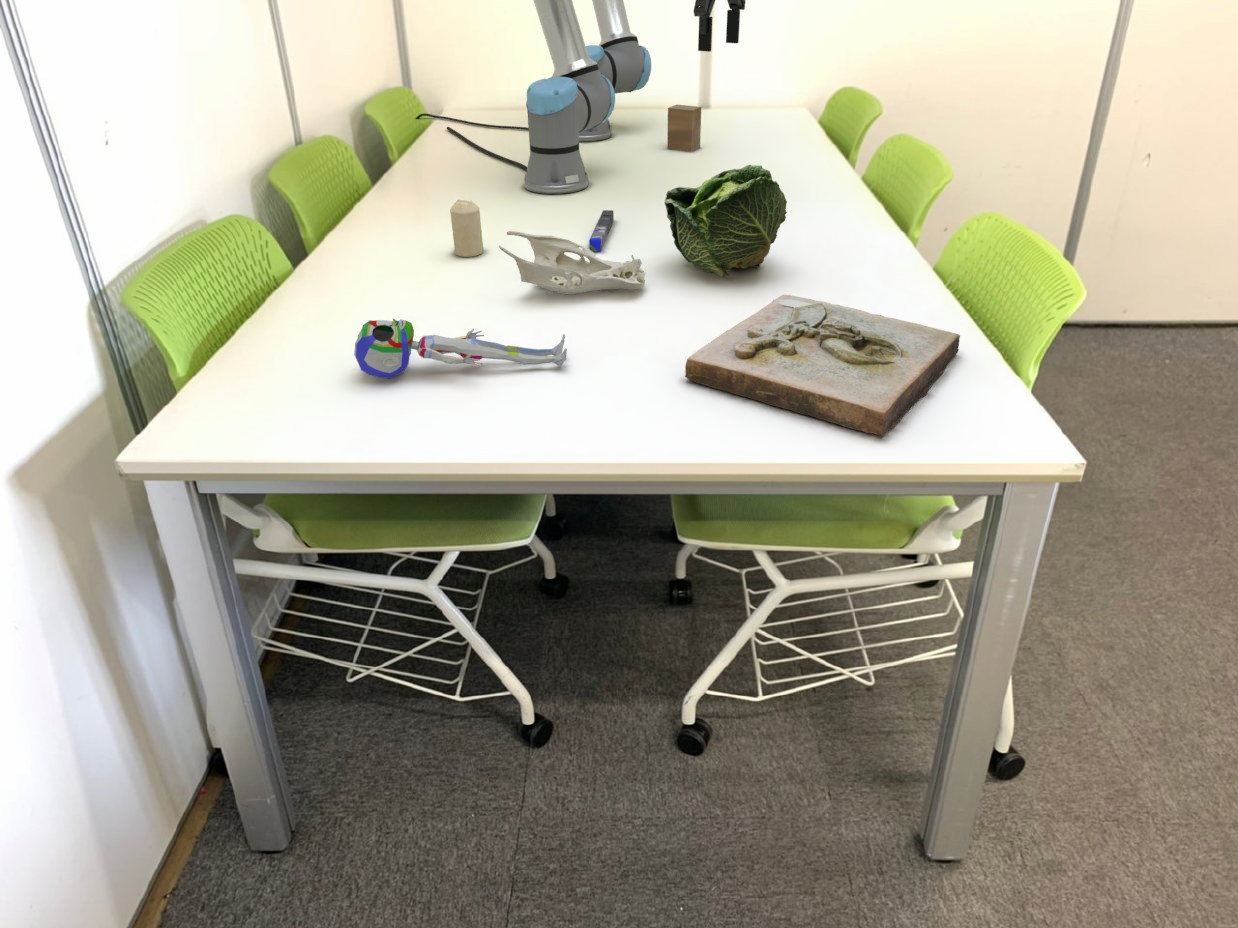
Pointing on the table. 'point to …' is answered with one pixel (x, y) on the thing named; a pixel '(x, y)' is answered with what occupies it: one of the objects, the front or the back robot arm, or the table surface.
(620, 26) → the back robot arm
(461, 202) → the candle
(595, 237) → the blue capped marker
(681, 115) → the block
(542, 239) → the anatomical model
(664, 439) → the table surface
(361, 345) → the toy
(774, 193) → the vegetable
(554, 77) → the front robot arm
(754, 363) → the plaque
